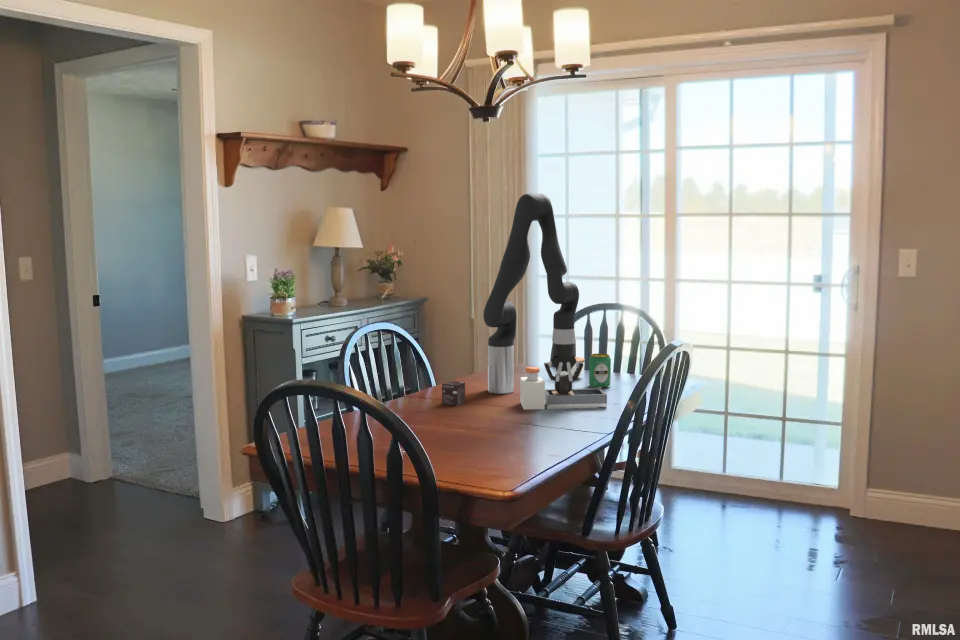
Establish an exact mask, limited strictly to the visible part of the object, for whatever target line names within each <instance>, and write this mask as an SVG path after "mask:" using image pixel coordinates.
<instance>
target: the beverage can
mask: <svg viewBox="0 0 960 640" xmlns="http://www.w3.org/2000/svg"><path fill="white" fill-rule="evenodd" d="M588 361H589V362H588V363H589V365H588V366H589V367H588V369H589V370H588V384H589V387H590V386H592V387H591V388H593V387H608V386H609V387H610V385H611V376H612V375H611V373H612V372H611V370H612V367H611V366H612V359H611V357H610V354H607V353H591V354H590V357H589V359H588ZM609 387H608V388H609Z"/></svg>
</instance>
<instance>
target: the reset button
mask: <svg viewBox="0 0 960 640" xmlns="http://www.w3.org/2000/svg"><path fill="white" fill-rule="evenodd" d="M524 370H525V373H526V374H527V375H526V377H527V381H538V377H539V373H540V372H541V371H540V370H541V369H540V367H537V366H536V367H535V366H527V367H525V368H524Z"/></svg>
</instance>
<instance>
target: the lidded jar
mask: <svg viewBox="0 0 960 640" xmlns="http://www.w3.org/2000/svg"><path fill="white" fill-rule="evenodd" d="M575 359H576V361H578V362H582V363H583V368H582V370H581V372H580V374H579V377H581V376H582V375H583V372H584V369H585V362H586V361H585V360H586V359H585V358H584V357H579V356H575ZM576 368H577V367H576V364H575V365H574V366H573V367H572V369H571V372H572V376H573V375H574V373H575V370H576ZM560 375H567V372H566V371H563V372H561V374H560ZM579 377H578V379H579Z"/></svg>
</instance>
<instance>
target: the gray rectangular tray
mask: <svg viewBox="0 0 960 640" xmlns="http://www.w3.org/2000/svg"><path fill="white" fill-rule="evenodd" d="M551 391H556V390H555V388H554V389H545V408H546V409H548V410H559V409H560V410H564V409H566V410H567V409H572V410H573V409H574V408H578V409H598V408H597V407H607V406H608V394H607V393H606V392H605V391H604V390H603V388H572V390H571V391H572V392H573V393H574V394H575V395H551ZM607 408H608V407H607Z"/></svg>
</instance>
